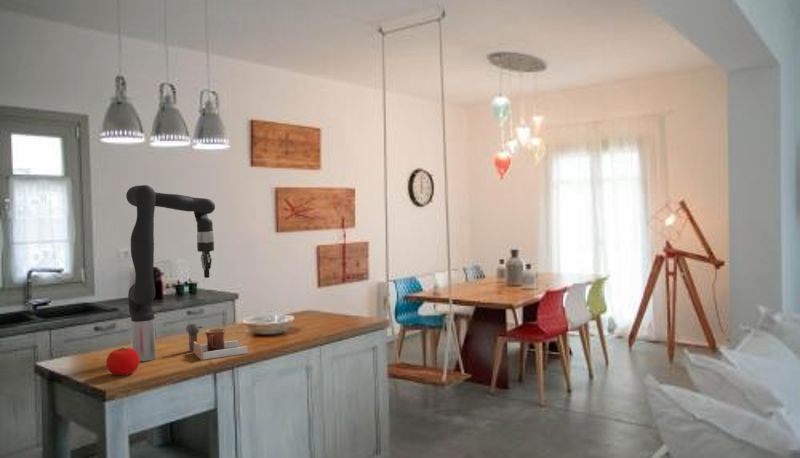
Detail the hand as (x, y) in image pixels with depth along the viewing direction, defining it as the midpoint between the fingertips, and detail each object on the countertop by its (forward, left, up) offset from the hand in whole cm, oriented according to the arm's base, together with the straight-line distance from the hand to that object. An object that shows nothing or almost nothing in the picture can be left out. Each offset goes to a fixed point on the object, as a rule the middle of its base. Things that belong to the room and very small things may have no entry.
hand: (206, 277), depth 282 cm
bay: (+1, -20, -32) cm, 38 cm away
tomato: (-40, -33, -32) cm, 61 cm away
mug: (-2, -22, -32) cm, 39 cm away
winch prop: (-8, -9, -32) cm, 34 cm away
